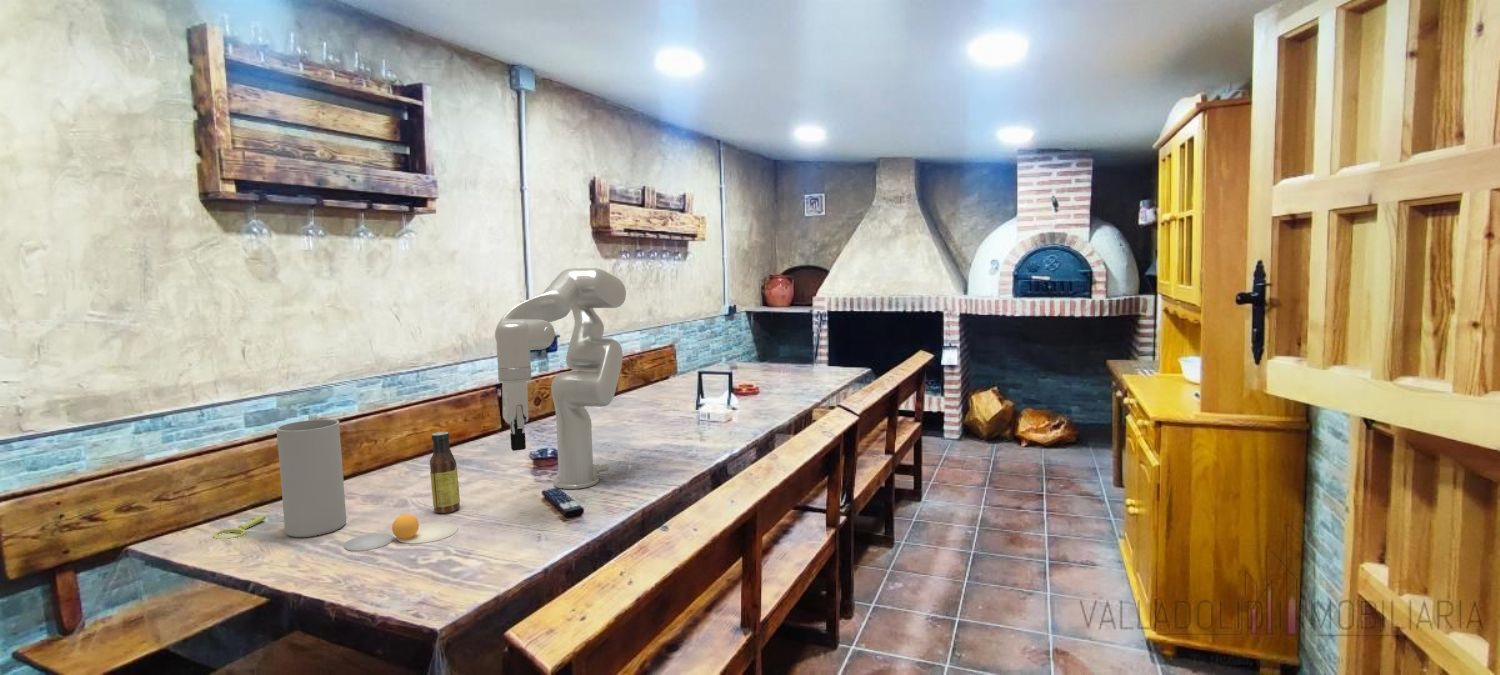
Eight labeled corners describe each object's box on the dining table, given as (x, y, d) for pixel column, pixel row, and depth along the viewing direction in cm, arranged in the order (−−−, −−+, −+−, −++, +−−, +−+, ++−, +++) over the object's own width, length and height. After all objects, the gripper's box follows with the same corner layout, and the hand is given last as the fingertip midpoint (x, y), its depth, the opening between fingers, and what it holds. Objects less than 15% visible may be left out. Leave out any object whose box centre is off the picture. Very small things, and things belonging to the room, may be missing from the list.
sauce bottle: (465, 508, 185) (461, 431, 183) (446, 515, 179) (441, 437, 177) (446, 504, 188) (442, 429, 186) (427, 512, 182) (422, 434, 180)
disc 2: (446, 519, 177) (446, 518, 177) (466, 532, 168) (466, 532, 168) (389, 532, 168) (388, 532, 168) (407, 548, 159) (407, 547, 159)
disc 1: (386, 530, 170) (386, 529, 170) (400, 542, 163) (400, 541, 163) (338, 542, 163) (338, 541, 163) (350, 554, 156) (350, 553, 156)
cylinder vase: (310, 541, 164) (302, 432, 161) (272, 534, 169) (263, 429, 166) (358, 522, 176) (351, 421, 173) (321, 517, 180) (314, 417, 178)
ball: (388, 522, 166) (407, 536, 168) (384, 534, 161) (404, 548, 163) (406, 505, 166) (425, 519, 168) (403, 516, 161) (423, 531, 163)
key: (268, 522, 178) (267, 513, 178) (240, 541, 166) (239, 532, 166) (236, 524, 177) (235, 515, 177) (206, 543, 165) (205, 534, 165)
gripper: (494, 371, 179) (498, 444, 180) (502, 379, 165) (506, 458, 167) (526, 369, 182) (529, 441, 184) (536, 377, 168) (539, 454, 170)
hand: (518, 449), depth 175 cm, fingers closed
